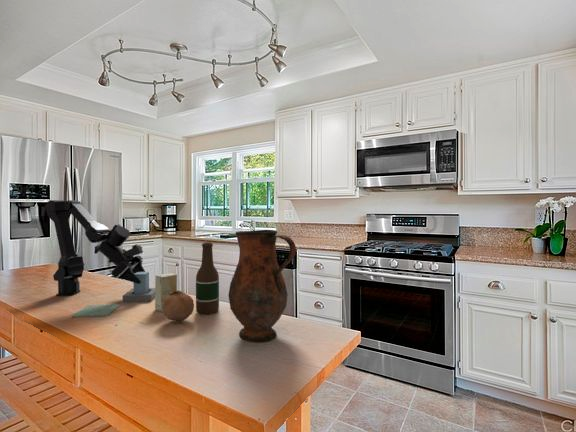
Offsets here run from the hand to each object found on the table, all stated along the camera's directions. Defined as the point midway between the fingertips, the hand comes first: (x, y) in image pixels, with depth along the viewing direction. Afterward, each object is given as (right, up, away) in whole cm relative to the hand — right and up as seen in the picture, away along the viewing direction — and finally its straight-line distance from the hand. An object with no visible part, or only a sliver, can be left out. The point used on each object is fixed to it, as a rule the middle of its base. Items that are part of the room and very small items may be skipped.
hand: (143, 280), depth 127 cm
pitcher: (+50, -9, -37) cm, 63 cm away
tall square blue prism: (-1, -7, 0) cm, 7 cm away
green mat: (-9, -7, -16) cm, 20 cm away
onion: (+23, -8, -26) cm, 35 cm away
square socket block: (-1, -7, 0) cm, 7 cm away
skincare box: (+14, -8, -13) cm, 21 cm away
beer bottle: (+29, -8, -16) cm, 34 cm away
